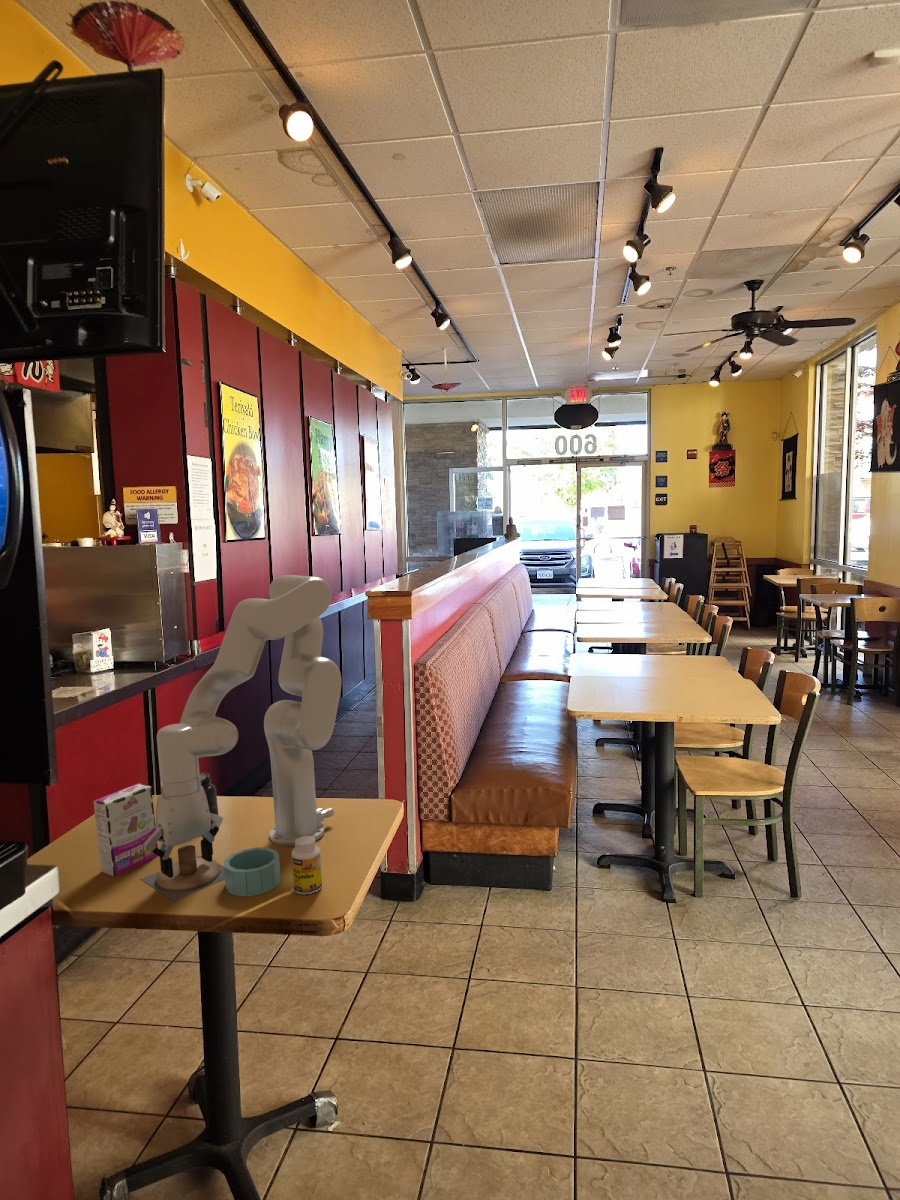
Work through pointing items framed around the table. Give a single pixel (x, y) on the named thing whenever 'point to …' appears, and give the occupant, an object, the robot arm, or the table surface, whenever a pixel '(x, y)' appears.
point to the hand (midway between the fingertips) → (188, 867)
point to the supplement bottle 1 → (210, 794)
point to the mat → (179, 894)
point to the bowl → (252, 871)
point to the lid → (189, 872)
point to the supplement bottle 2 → (306, 866)
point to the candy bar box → (125, 828)
